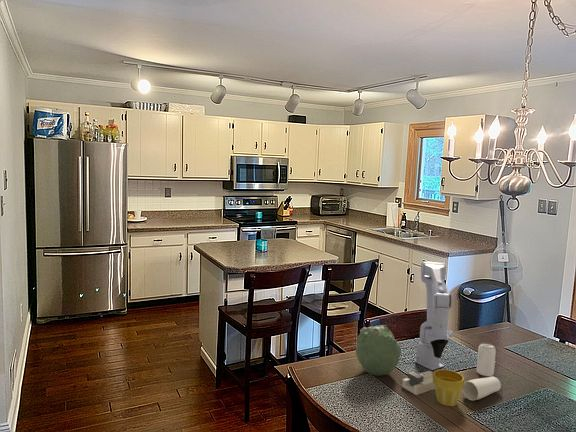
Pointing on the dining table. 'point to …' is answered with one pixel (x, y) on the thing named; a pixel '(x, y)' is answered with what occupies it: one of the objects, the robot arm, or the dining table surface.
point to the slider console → (420, 384)
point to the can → (486, 359)
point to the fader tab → (414, 378)
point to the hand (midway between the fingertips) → (437, 357)
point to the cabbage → (377, 350)
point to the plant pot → (447, 386)
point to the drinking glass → (481, 387)
